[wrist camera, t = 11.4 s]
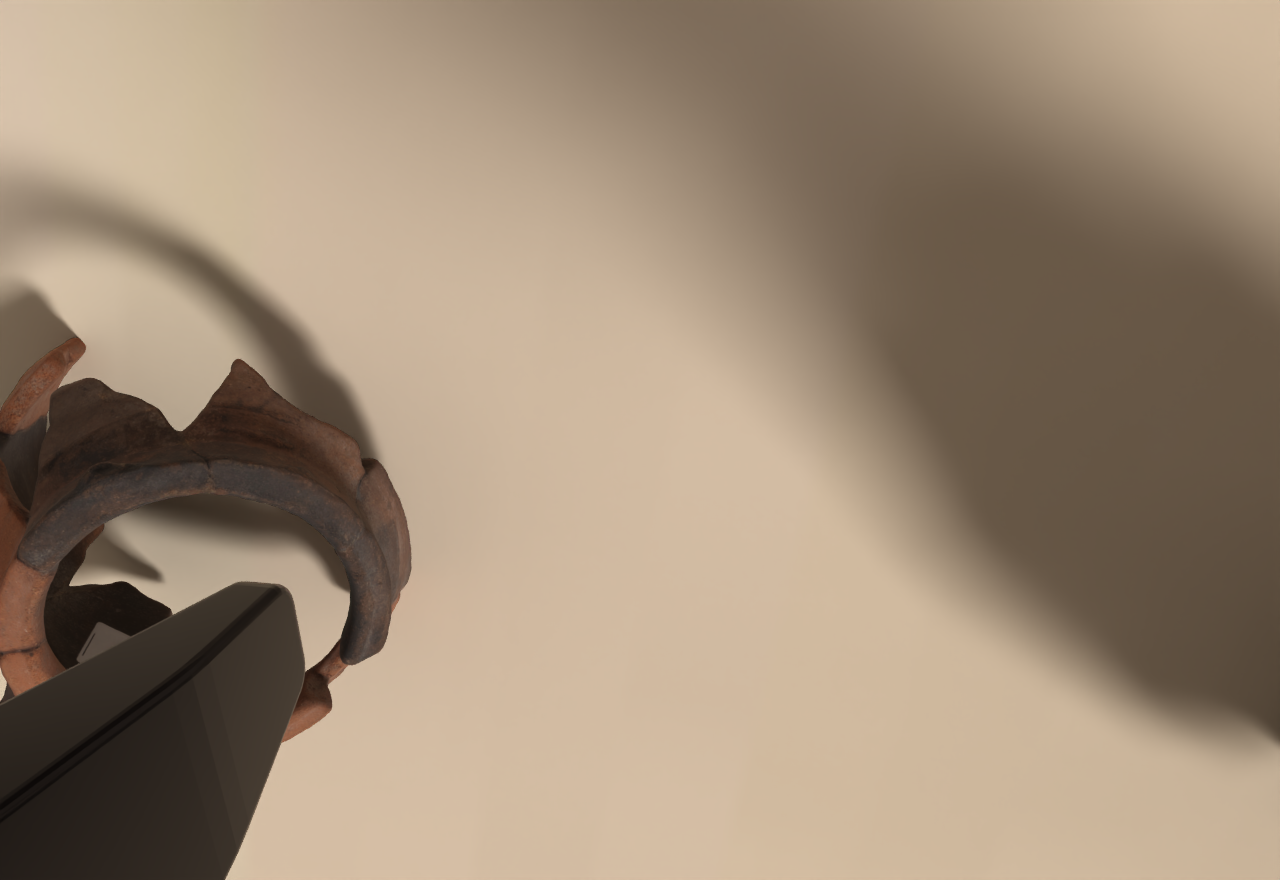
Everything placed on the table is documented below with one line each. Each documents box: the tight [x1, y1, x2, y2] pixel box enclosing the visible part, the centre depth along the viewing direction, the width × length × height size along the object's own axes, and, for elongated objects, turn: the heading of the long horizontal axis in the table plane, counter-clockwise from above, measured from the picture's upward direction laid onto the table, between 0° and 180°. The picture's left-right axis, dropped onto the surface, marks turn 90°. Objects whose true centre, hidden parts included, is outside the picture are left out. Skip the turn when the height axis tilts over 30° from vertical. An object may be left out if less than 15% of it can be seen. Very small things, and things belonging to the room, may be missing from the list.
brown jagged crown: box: [0, 338, 411, 743], centre depth 23 cm, size 12×10×8 cm
